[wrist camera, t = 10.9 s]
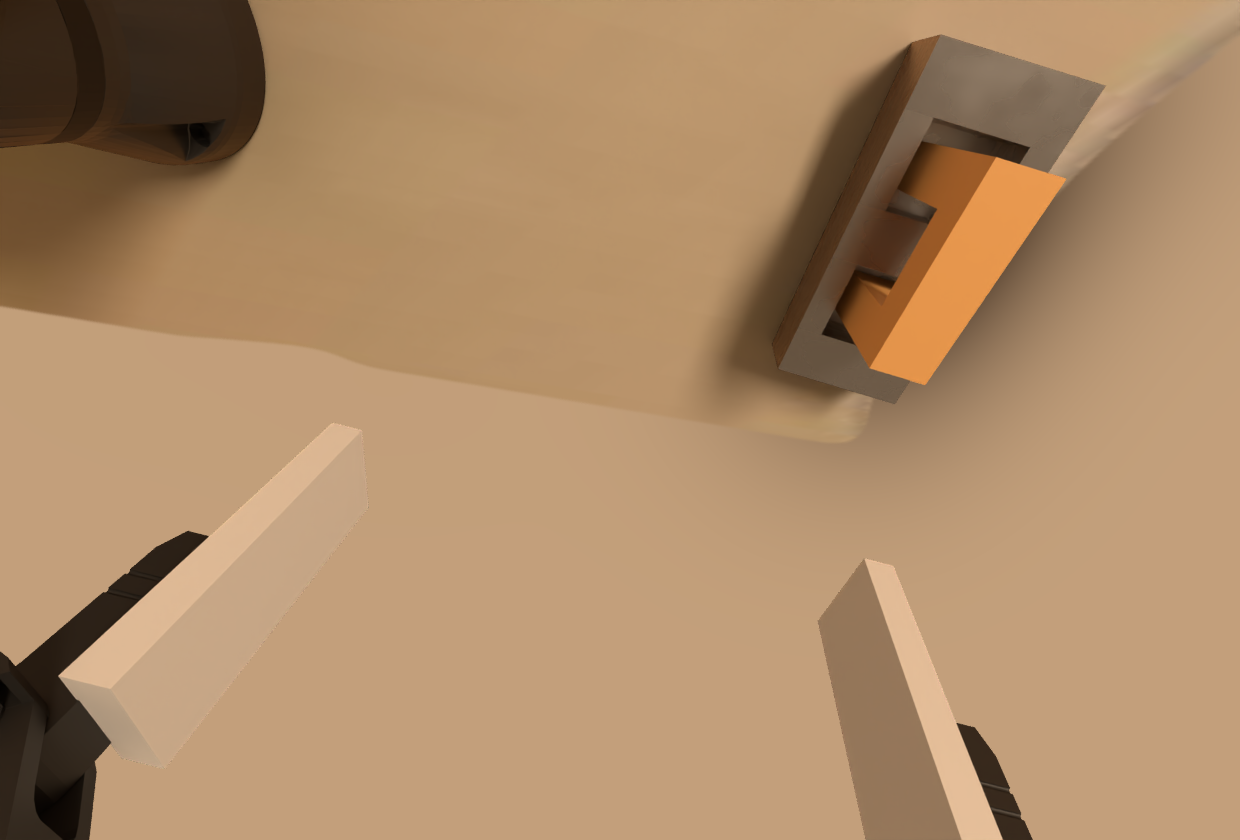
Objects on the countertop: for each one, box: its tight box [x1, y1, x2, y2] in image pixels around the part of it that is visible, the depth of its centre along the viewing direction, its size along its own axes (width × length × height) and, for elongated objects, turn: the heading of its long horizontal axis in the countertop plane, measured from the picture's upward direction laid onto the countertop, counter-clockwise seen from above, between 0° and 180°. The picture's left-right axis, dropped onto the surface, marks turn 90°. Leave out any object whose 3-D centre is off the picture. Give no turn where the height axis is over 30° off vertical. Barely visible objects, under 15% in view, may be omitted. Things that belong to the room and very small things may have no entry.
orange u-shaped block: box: [835, 141, 1066, 385], centre depth 27 cm, size 3×10×10 cm, turn 166°
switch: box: [772, 35, 1105, 404], centre depth 30 cm, size 8×18×4 cm, turn 166°
